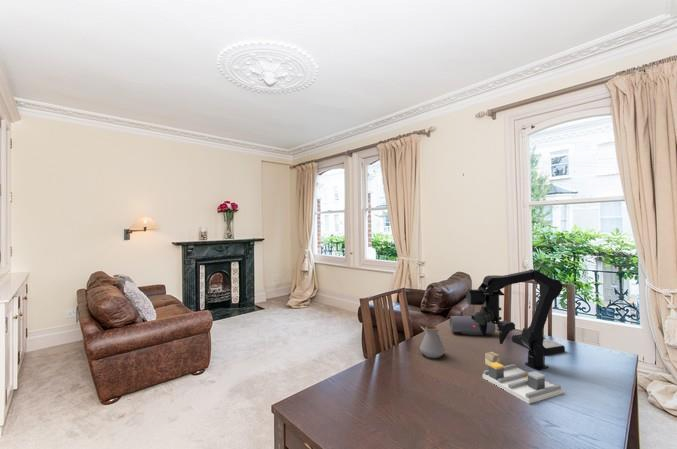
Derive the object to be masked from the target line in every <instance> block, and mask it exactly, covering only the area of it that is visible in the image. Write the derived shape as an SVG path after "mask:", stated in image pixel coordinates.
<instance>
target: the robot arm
mask: <svg viewBox="0 0 677 449" xmlns="http://www.w3.org/2000/svg"><path fill="white" fill-rule="evenodd" d="M529 281H534V282H536V283H537V284H539V295H540V296H539V299H538V302H537V305H536V308H535V311H534V314H533V316H532V320H531V322H530V325H529V326H528V327H527V328H525V327H522V332H521V335H520V334H519V335H520V336H521V341H522V343H523V344H524V345H525V347H526V348H525V347H524V348H525V349H528V351H527V362H525V363H524V364H525V366H528V367H531V368H533V369H535V370H538V371H541V370H545V369H548V368H549V366H548V365H546V358H545V357H548V356H549V355H548V353H549V351H548V350H547V349H546V348H545V347H544V346H543V340H544V339H543V338H544V334H543V333H544V332H543V331H544V328H545V325H546V322H547V319H548V316H549V313H550V310H551V308H552V305H553V302H554V300H556V299H557V298H558V297H559V296H560V294H561V293H562V290H563V289H564V286H563V283H562V282H561V281H560V280H559V279H555V278H552V277H549V276H548V275H546V274H544V273H542V272H541V271H540V270H536V269H533V268H531V269H528V270H525V271H524V270H523V271H520V272H515V273H511V274H509V273H508V274H504V275H495V274H494V275H486V276H484V278H483V281H482V283H481V284H480V285H479V287H477V289H474V288H473V289H472V288H468V289H467V293H466V296H465V299H466V303H467V305H468V306H482V307H481V308H482V309H481V311H478V312H477V311H476V312H473V313H472V314H471V316H472V319H473V320H474V322H476V323H477V324H478V325H479V328H480V330H481V333H482V335H481V336H482V338H486V335H487V333H486V330H487V323H490V322H491V323H493V324H495V326H497V328H496V331H497V332H498V334H499V335H498V336H499V337H498V339H499V344H500V345H503V343H504V342H505V340H506V338H507V336H508V335H509V333H510V332H512V331H514V330H516V324H515V323H514V322H512V321H509V320H502V318H503V317H502V316H500V311H502V307H500V296H505V293H503V291H502V290H501V289H505V288H506V287H507V286H511V285H515V284H519V283H524V282H525V283H526V282H529ZM494 321H495V322H494Z"/></svg>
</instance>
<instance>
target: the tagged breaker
mask: <svg viewBox="0 0 677 449" xmlns="http://www.w3.org/2000/svg"><path fill="white" fill-rule="evenodd" d="M487 366H488V370H489V376H490V377H492V378H494V379H496V380H497V379H499V378H503V377H504V366H505V365H504V364H501V363H500V364H499V363H497V362H493V363H489V364H488V365H487Z"/></svg>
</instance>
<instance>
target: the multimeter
mask: <svg viewBox="0 0 677 449" xmlns="http://www.w3.org/2000/svg"><path fill="white" fill-rule="evenodd" d="M521 334H522V333H521ZM521 334H513V335H512V336H511V342H512V343H514V344H516V345H519V346H521V347H523V348H525V349H527V348H526V347H525V345H524V344H523V343H522V341H521V336H520V335H521ZM543 339H544V340H543V346H544V347H545V348H546V349H547V350H548V351H549V353H548V356H550V355H558V354H564V353H565V352H566V348H565V346H564V345H563V344H561V343H558V342H556V341H553V340H550V339H548V338H545V337H543ZM563 352H564V353H563Z"/></svg>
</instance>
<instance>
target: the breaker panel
mask: <svg viewBox="0 0 677 449" xmlns="http://www.w3.org/2000/svg"><path fill="white" fill-rule="evenodd" d="M530 372H531V371H530V370H527V371H525V370H523V369H521V368H519V367H517V364H515V363H511V364H508V365H504V377H503V378H499V379H497V380H496V379H494V378H492V377H490V376H489V369H485V370H483V373H482V379H484V380H486V381H487V380H488V381H487V382H489V383H491V384H492V385H494V384H495V385H494V386H496V385H497V387H498V388H500V389H501V388H502V390H503V389H504V391H505V392H507V393H509V394H510V395H512V396H514V397H515V398H518V400H521V401H523V402H525V403H526V404H528V405H529V404H530V405H531V404H533V403H537V402H540V401H542V400H546V399H549V398H552V397H556V396H559V395H562V394H564V388H562V385H560V384H553V383H551V382H548V381H546V380H545V388H544V389H540V390H535V389H533V388H531V387H529V386H528V373H530Z"/></svg>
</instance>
